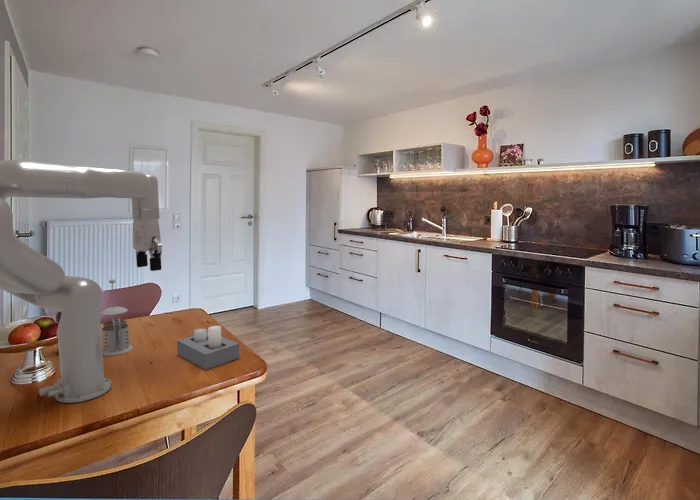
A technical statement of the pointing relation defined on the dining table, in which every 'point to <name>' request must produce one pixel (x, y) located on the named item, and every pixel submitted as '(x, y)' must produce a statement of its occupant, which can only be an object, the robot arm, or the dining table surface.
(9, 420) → the dining table surface
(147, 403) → the dining table surface
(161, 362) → the dining table surface
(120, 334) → the french press
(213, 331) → the peg
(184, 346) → the socket block
